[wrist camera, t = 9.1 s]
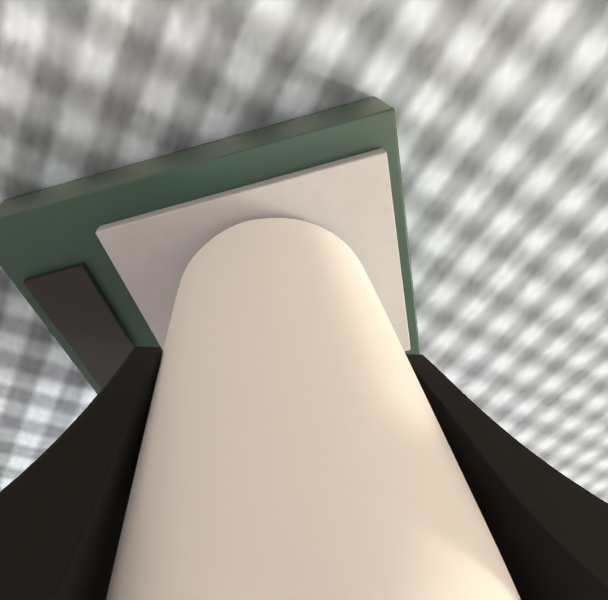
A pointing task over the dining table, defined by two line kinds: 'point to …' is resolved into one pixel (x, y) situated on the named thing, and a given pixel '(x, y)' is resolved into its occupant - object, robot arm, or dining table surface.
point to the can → (295, 443)
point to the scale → (205, 227)
